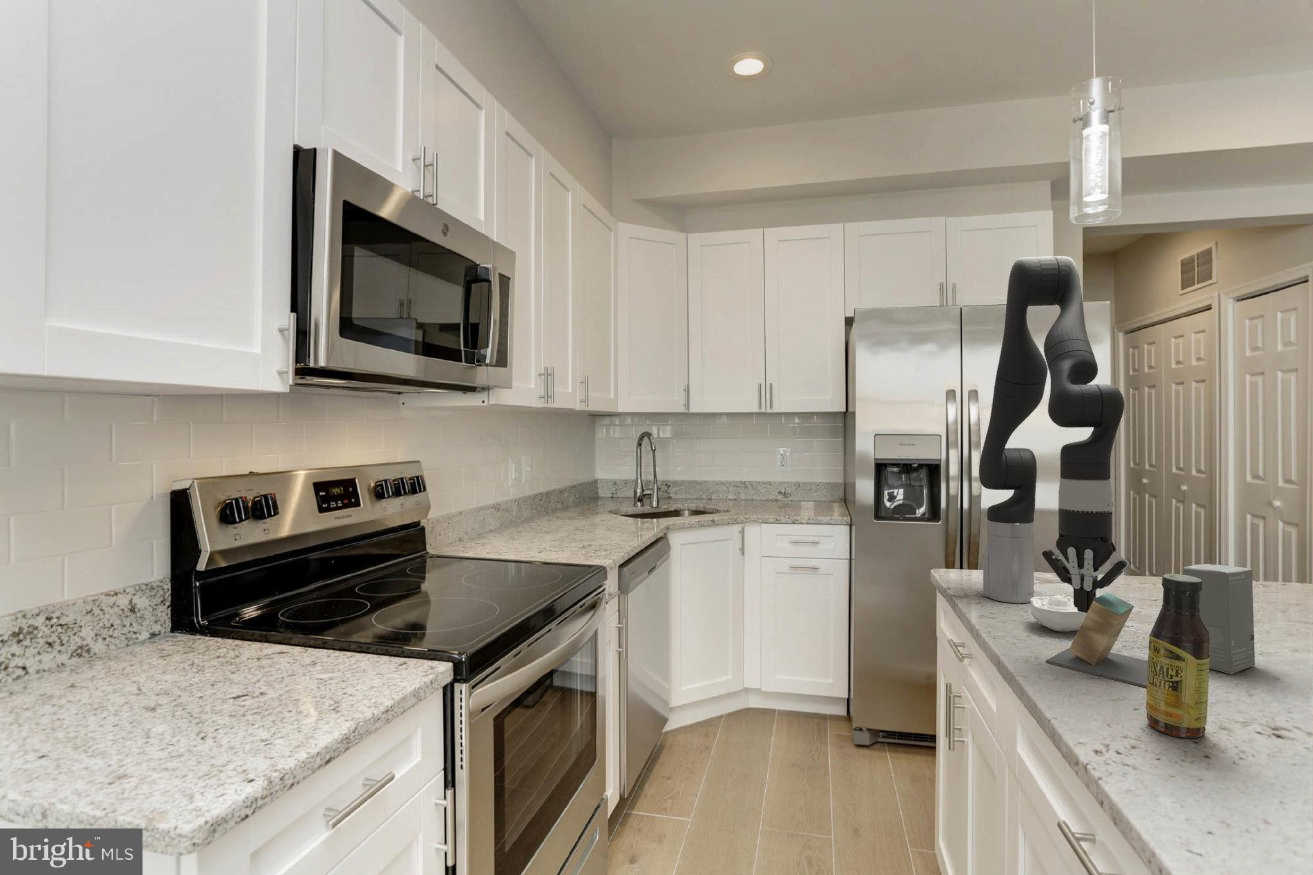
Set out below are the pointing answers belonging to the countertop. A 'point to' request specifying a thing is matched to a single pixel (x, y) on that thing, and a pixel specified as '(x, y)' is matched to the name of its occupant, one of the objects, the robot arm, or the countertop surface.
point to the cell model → (1057, 613)
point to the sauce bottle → (1178, 661)
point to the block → (1100, 628)
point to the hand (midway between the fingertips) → (1084, 611)
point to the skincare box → (1227, 614)
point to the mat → (1107, 667)
